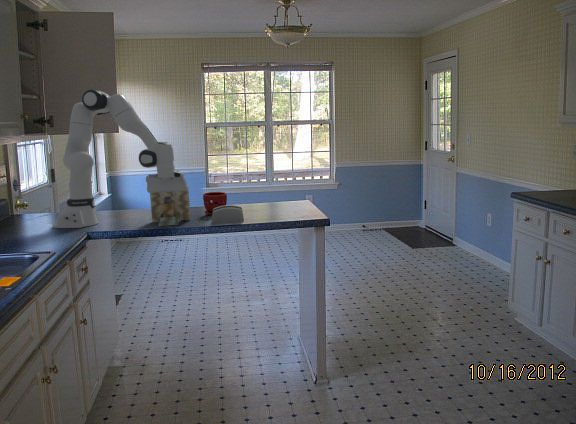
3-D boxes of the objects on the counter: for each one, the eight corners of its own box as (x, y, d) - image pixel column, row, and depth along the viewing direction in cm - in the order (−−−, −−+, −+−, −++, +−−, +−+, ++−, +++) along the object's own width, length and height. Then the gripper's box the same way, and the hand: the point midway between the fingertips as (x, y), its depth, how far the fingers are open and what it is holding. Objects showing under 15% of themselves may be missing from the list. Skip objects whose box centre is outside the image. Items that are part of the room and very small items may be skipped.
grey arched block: (243, 219, 292) (243, 202, 287) (244, 224, 288) (244, 207, 283) (211, 221, 289) (210, 204, 284) (211, 226, 285) (211, 209, 280)
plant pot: (201, 216, 304) (199, 195, 302) (208, 212, 317) (206, 191, 315) (224, 216, 302) (222, 194, 300) (230, 212, 315) (229, 191, 313)
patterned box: (148, 227, 280) (145, 192, 277) (153, 221, 296) (150, 187, 293) (188, 225, 282) (185, 190, 279) (190, 219, 298) (188, 186, 295)
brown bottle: (163, 220, 283) (161, 197, 280) (165, 216, 292) (164, 194, 290) (173, 219, 283) (171, 197, 281) (175, 216, 293) (173, 194, 291)
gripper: (144, 175, 280) (146, 202, 282) (185, 173, 281) (187, 200, 284) (146, 174, 286) (148, 200, 288) (186, 172, 287) (188, 198, 290)
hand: (168, 200), depth 286 cm, fingers closed on brown bottle, 3 cm apart
